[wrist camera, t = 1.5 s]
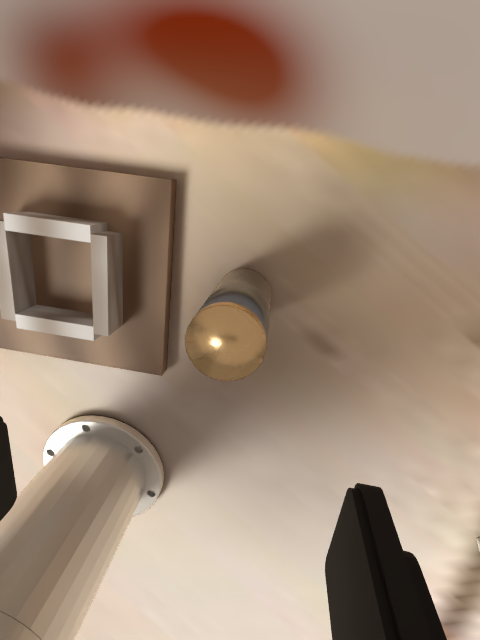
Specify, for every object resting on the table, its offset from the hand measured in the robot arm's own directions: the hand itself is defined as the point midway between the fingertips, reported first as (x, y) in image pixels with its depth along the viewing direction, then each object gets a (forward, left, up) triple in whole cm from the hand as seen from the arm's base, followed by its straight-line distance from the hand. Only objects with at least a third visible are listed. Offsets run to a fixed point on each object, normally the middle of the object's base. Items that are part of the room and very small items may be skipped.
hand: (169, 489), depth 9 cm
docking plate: (-10, +10, -20) cm, 24 cm away
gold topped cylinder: (0, 0, -20) cm, 20 cm away
